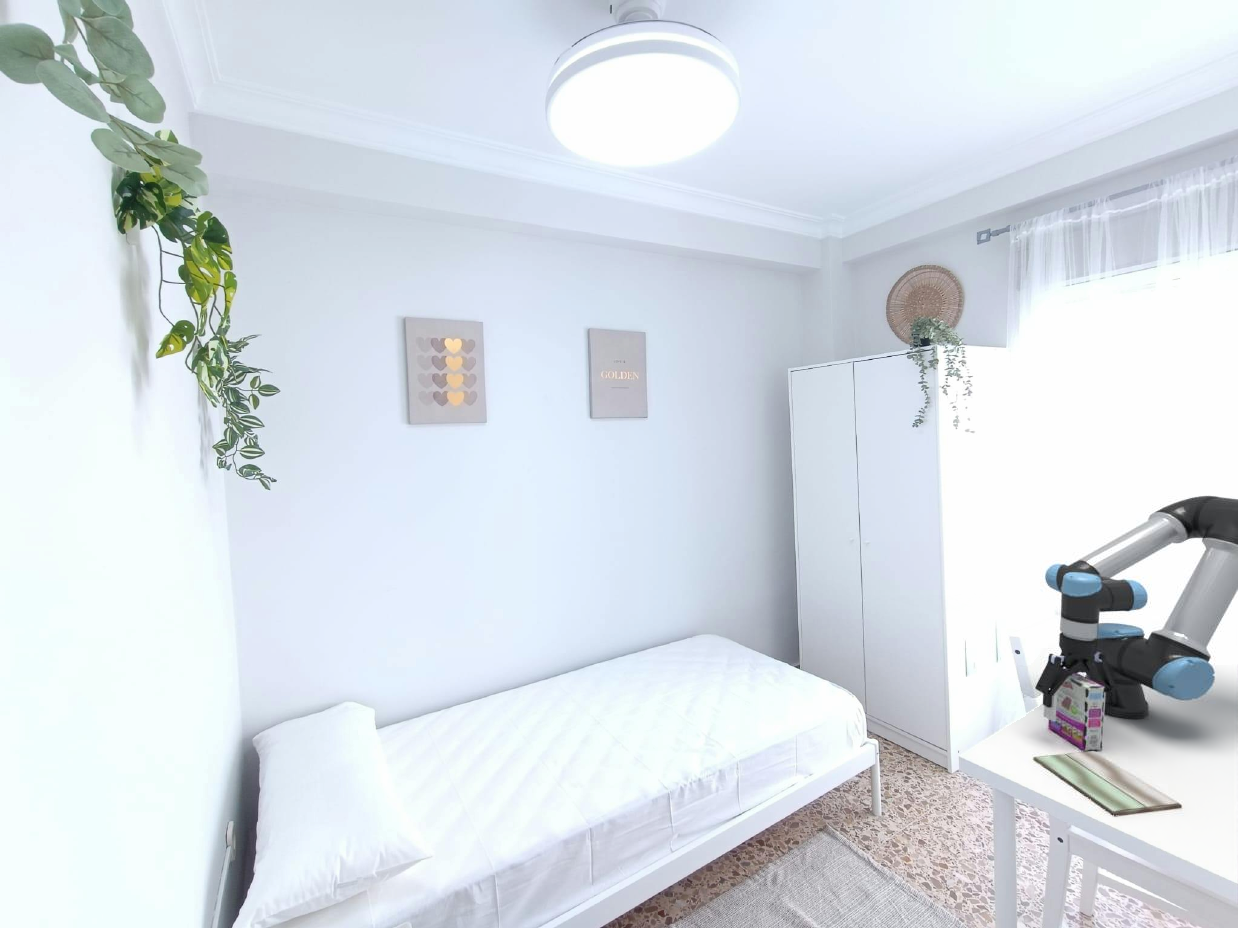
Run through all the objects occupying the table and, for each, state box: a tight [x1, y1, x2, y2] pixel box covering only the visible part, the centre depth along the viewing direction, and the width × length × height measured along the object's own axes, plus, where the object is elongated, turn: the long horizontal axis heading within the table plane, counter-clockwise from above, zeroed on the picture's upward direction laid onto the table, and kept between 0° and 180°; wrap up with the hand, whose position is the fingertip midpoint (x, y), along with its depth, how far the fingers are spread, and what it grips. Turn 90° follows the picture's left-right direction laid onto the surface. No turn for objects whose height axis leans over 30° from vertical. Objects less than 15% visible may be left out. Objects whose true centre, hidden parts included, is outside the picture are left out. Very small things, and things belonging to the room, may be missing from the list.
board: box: [1033, 751, 1183, 817], centre depth 131 cm, size 16×20×1 cm
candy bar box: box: [1047, 667, 1105, 752], centre depth 147 cm, size 11×5×16 cm, turn 5°
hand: (1073, 716), depth 147 cm, fingers open, 13 cm apart
